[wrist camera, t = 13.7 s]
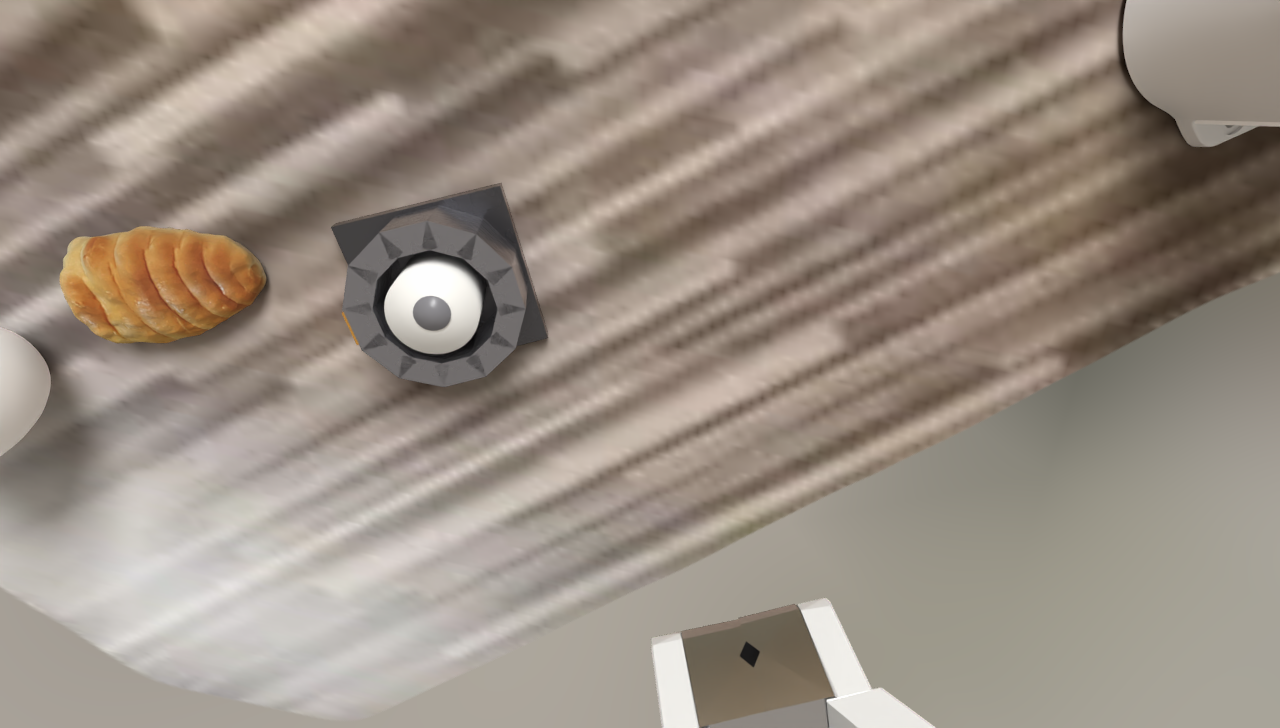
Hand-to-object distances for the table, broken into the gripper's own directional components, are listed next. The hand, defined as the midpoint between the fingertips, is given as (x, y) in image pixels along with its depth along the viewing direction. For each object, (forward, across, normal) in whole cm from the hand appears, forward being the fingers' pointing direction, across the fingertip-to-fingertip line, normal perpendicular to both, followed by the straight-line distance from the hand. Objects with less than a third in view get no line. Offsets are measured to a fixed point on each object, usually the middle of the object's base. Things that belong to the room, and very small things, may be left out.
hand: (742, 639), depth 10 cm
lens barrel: (+31, +11, +2) cm, 33 cm away
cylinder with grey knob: (+30, +11, +2) cm, 32 cm away
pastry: (+30, +27, -2) cm, 41 cm away
